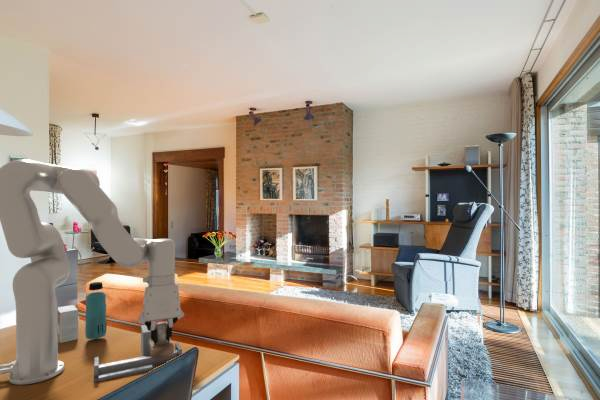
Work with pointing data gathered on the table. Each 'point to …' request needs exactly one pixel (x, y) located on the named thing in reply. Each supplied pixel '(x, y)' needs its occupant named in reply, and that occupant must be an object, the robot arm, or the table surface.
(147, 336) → the gauge cabinet
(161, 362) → the rail track
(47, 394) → the table surface
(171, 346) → the carriage
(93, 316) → the beverage bottle
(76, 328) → the small box
